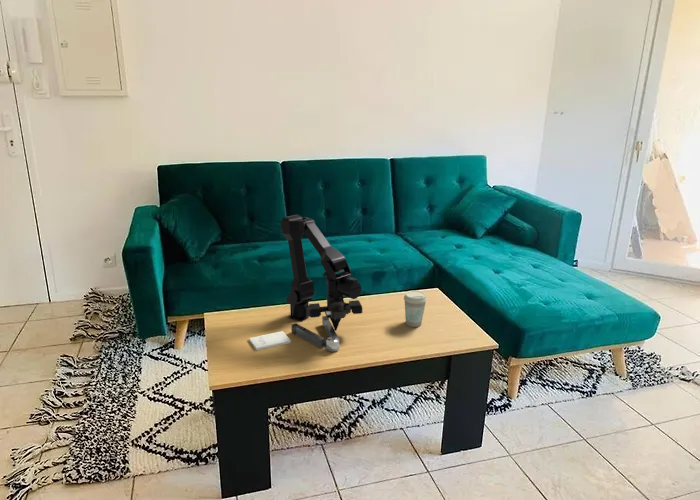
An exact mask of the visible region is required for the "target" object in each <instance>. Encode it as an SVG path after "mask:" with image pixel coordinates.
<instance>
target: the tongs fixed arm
mask: <svg viewBox="0 0 700 500" xmlns="http://www.w3.org/2000/svg"><path fill="white" fill-rule="evenodd" d="M291 333H292V334H294V335H295V336H297V337H299V338H301V339H303V340H304V341H306V342H308V343H310V344H312V345H314V346H315V347H317V348H320V349H324V348H326V338H325V337H323V336H322V335H320V334H318V333H315V332H313V331H311V330H310V329H308V328H306V327H304V326H302V325H300V324H298V323H293V324H291Z"/></svg>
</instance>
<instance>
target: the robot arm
mask: <svg viewBox="0 0 700 500" xmlns="http://www.w3.org/2000/svg"><path fill="white" fill-rule="evenodd" d="M279 224H280V229H281V232H282V235H283V236H284V237H285V238H286V240H287V242H288V248H289V249H288V250H289V257H290V262H291V269H292V276H293V279H292V282H291V285H290V293H289V294H288V295H287V296H286V297H285V300H286V303H287V304H289V305H290V306H289V307H290V309H289V310H290V311H289V312H290V313H289V315H288V319H293V320H297V321H300V322H303V321H306V319H308V318H319V317H320V316H321V315H322V313H324V315H325V316H326V317H327V318H329V320H330V322H331V324H332V326H333V328H334V330H335V332H336V331H337V330H338V327H339V324H340V322H341V320H342V319H345V318H346V316H347V315H349V314H351V313H352V314H354V315H356V314H357V315H358V314H359V315H360V314H362V313H363V305H362V303H361V301H360V300H359V299H357V298H359V296H361V292H362V285H361V284H360V282H358V278H354V277H351V276H353V273H352V270H351V268H350V266H349V264H348V262H347V258H346V257H345V256H344V255H343V254H342V253H341V252H340V250H338V249H336V248H334V247H333V246H332V245H331V244H330V243H329V242H328V240H327V239H326V236H324V235H323V233H322V232H321V230H320V229H319V227H318V226H317V225H316V222H315V220H314V219H313V218H310V217H307V216H306V217H305V216H301V215H300V214H294V215H289V216H288V215H287V216H283V217H282V219H281V220H280V223H279ZM303 235H305V237H307V239H308V240H309V242H310V243H311V245H312V246H313V248H314V249H315V250H316V252H317V253H318V255H319V257H320V264H321V266H322V267H323V270H324V271H325V272H323V273H322V274H321V275H322V277H324V278H326V305H324V306H321V304H320V303H319V302H317V303H309V302H310V301H313V297H314V295H315V291H316V289H315V283H314V280H311V279H310V278H309V277H308V273H307V268H306V261H305V255H304V254H305V253H304V246H303V241H302V237H303ZM344 296H345V297H346V298H350V299H352V300H349V301H348V302H345V300H344Z"/></svg>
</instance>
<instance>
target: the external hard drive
mask: <svg viewBox="0 0 700 500" xmlns="http://www.w3.org/2000/svg"><path fill="white" fill-rule="evenodd" d="M248 341H249V343H251V345H252V346H253V348H254V350H256V351H261V350H265V349H270V348H273V347H278V346H283V345H287V344H288V345H289V344H291V343H292V340H291V339H290V337H288V336H287V334H286V333H285V332H284V331H283V330H281V331H277V332H273V333H272V332H271V333H268V334H263V335H258V336H253V337H248Z"/></svg>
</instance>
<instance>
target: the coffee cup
mask: <svg viewBox="0 0 700 500" xmlns="http://www.w3.org/2000/svg"><path fill="white" fill-rule="evenodd" d="M403 301H404V311H405V315H404V316H405V317H404V318H405V324H406V326H408V327H411V328H418V327H420V326H421V325H422V323H423V322H422V321H423V318H424V313H425V312H424V311H425V307H426V302H427V301H428V299H427V296H426V294H425V292H423V291H420V290H409V291H406V293H405V294H404V297H403Z"/></svg>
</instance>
